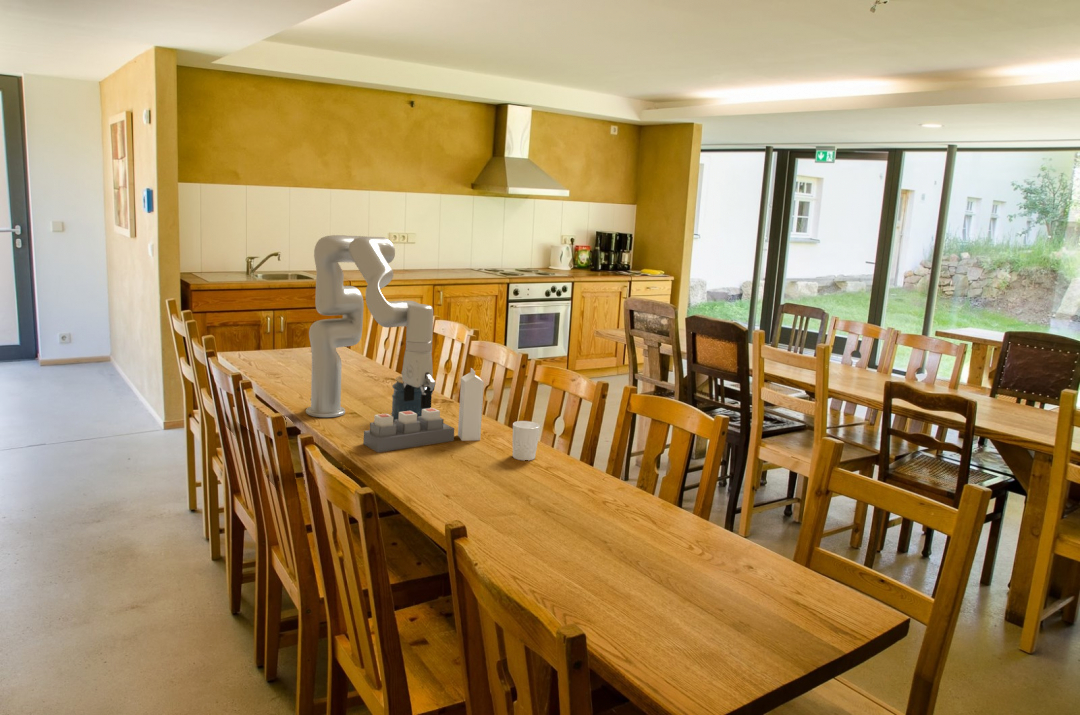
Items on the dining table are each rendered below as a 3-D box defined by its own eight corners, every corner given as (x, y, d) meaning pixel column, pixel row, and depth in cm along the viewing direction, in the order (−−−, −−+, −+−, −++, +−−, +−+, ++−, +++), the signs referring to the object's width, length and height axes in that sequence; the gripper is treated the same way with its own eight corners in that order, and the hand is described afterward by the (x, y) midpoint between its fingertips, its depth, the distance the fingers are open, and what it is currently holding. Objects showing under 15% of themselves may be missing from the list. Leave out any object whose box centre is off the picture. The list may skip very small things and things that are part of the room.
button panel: (363, 443, 227) (364, 421, 226) (438, 432, 243) (439, 412, 242) (377, 452, 220) (378, 429, 219) (453, 440, 237) (454, 419, 235)
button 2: (398, 421, 230) (398, 411, 229) (409, 420, 233) (410, 410, 232) (404, 425, 227) (405, 414, 226) (416, 423, 230) (417, 413, 229)
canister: (403, 428, 245) (405, 374, 242) (383, 418, 255) (385, 366, 252) (437, 423, 254) (440, 371, 250) (417, 414, 263) (420, 363, 260)
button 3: (421, 418, 235) (421, 408, 235) (432, 417, 238) (433, 407, 237) (428, 422, 232) (428, 411, 232) (439, 420, 235) (439, 410, 234)
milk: (476, 435, 244) (480, 367, 240) (480, 440, 239) (485, 371, 235) (457, 435, 243) (461, 367, 239) (461, 440, 237) (465, 371, 233)
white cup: (540, 455, 229) (542, 423, 227) (532, 463, 221) (535, 429, 219) (515, 451, 231) (517, 419, 229) (507, 458, 223) (509, 425, 221)
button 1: (374, 424, 225) (374, 414, 224) (386, 423, 228) (386, 413, 227) (380, 428, 222) (381, 417, 221) (392, 426, 225) (393, 416, 224)
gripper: (392, 342, 226) (391, 399, 229) (423, 352, 213) (421, 412, 216) (415, 341, 231) (413, 396, 234) (446, 351, 218) (443, 409, 221)
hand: (417, 404), depth 225 cm, fingers open, 9 cm apart
